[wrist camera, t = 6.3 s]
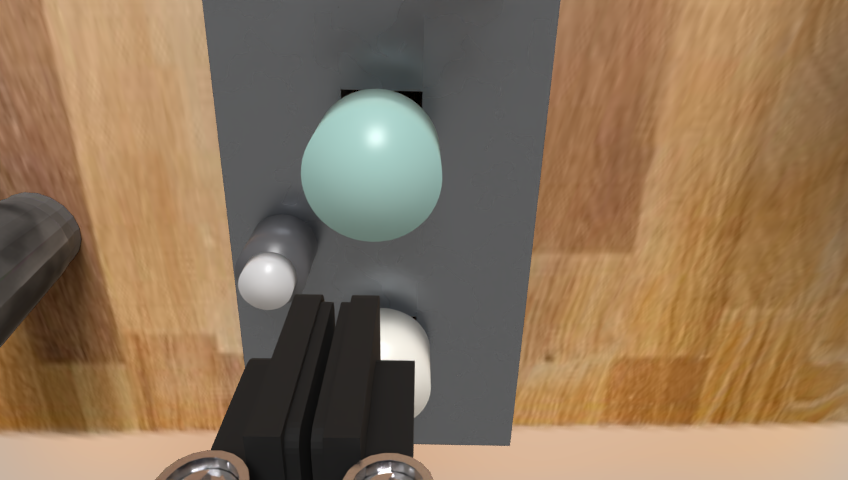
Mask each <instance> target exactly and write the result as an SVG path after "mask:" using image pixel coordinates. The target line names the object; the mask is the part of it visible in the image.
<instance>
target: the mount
mask: <svg viewBox="0 0 848 480" xmlns="http://www.w3.org/2000/svg"><path fill="white" fill-rule="evenodd" d="M202 3H203V11H204V20H205V28H206V37H207V45H208V54H209V63H210V71H211V80H212V88H213V97H214V105H215V114H216V123H217V131H218V140H219V148H220V157H221V165H222V174H223V183H224V191H225V200H226V208H227V217H228V225H229V234H230V243H231V251H232V260H233V268H234V277H235V265H236V262H237V259H238V257H239V256H240V254H241V252H242V251H243V249H244V247H245V245H246V244H247V242H248V240H249V238H250V237H251V235H252V233H253V232H254V230H255V228H256V227H257V225H258V224H259V223H260V222H261V221H262V220H264V219H265V218H267V217H269V216H273V215H278V214H285V215H291V216H294V217H297V218H299V219H301V220H302V221H304V222H305V223H306V224H307V225H308V226H309V227H310V228H311V229H312V231H313V232H314V234H315V237H316V240H317V252H316V255H315V258H314V261H313V264H312V267H311V270H310V273H309V276H308V279H307V282H306V285H305V288H304V290H303V292H302V293H301V294H321V295H323V296H324V299H325V302H333V303H334V309H335V326H336V322H337V318H338V313H339V309H340V305H341V302H351V297H352V295H379V297H380V308H389V309H394V310H397V311H401V312H403V313H405V314H407V315H409V316H412V317H416V321H417V322H418V323H419V324H420V325H421V326H422V328H423V329H424V330H425V332H426V334H427V337H428V339H429V344H430V378H431V391H430V397H429V400H428V402H427V404H426V406H425V407H424V409H423V410H422V411H421V412H420V414H419V415H417V416H416V417H415V418H414V444H441V445H442V444H443V445H444V444H445V445H497V446H498V445H499V446H509V445H510V439H511V431H512V422H513V414H514V405H515V396H516V387H517V378H518V369H519V361H520V352H521V343H522V334H523V325H524V317H525V308H526V299H527V290H528V281H529V272H530V264H531V255H532V246H533V237H534V228H535V220H536V211H537V202H538V193H539V184H540V175H541V167H542V158H543V149H544V140H545V131H546V123H547V114H548V105H549V96H550V87H551V78H552V70H553V61H554V52H555V43H556V34H557V26H558V17H559V8H560V0H202ZM365 89H386V90H390V91H422V101H421V108H422V109H423V110H424V111H425V112H426V113H427V115H428V116H429V118H430V119H431V121H432V122H433V124H434V127H435V129H436V132H437V135H438V139H439V145H440V155H441V166H442V186H441V192H440V195H439V198H438V201H437V203H436V206H435V207H434V209H433V211H432V212H431V214H430V215H429V216H428V218H427V219H426V220H425V221H424V222H423V223H422V224H421V225H420V226H418V227H417V228H416V229H414V230H413V231H411V232H409V233H408V234H406V235H404V236H401V237H399V238H396V239H392V240H388V241H381V242H368V241H360V240H355V239H352V238H349V237H346V236H344V235H342V234H340V233H338V232H336V231H334V230H333V229H331V228H330V227H329V226H327V225H326V224H325V223H324V222H323V221H322V220H321V219H320V218H319V217H318V216H317V215H316V214H315V212H314V211H313V210H312V208H311V206H310V205H309V203H308V201H307V199H306V196H305V194H304V190H303V187H302V180H301V165H302V159H303V155H304V152H305V149H306V147H307V145H308V143H309V141H310V139H311V137H312V136H313V134H314V132H315V130H316V129H317V127H318V125H319V123H320V121H321V120H322V118H323V117H324V115H325V113H326V112H327V111H328V110H329V109H330V107H331V106H332V105H334V104H335V103H336V102H337V101H338V100H340V99H342V98H343V97H345V96H347V95H349V94H351V93H353V90H365ZM235 285H236V294H237V303H238V311H239V320H240V328H241V337H242V345H243V354H244V363H245V367H246V365H247V363H248V361H249V360H250V359H251V358H272V355H273V352H274V350H275V347H276V344H277V341H278V339H279V336H280V333H281V330H282V328H283V325H284V322H285V320H286V317H287V314H288V311H289V309H290V306H291V303H292V302H289V303H287V304H285V305H284V306H282V307H280V308H278V309H274V310H263V309H259V308H256V307H254V306H252V305H250V304H249V303H247V302H246V301H245V300H244V298H243V297H242V296H241V294H240V291H239V288H238V283H237V281H236V278H235Z"/></svg>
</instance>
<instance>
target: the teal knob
mask: <svg viewBox="0 0 848 480" xmlns="http://www.w3.org/2000/svg"><path fill="white" fill-rule="evenodd" d="M301 180H302V187H303V190H304V194H305V196H306V199H307V201H308V203H309V205H310V206H311V208H312V210H313V211H314V212H315V214H316V215H317V216H318V217H319V218H320V219H321V220H322V221H323V222H324V223H325V224H326V225H327V226H329V227H330V228H331V229H333V230H334V231H336V232H338V233H340V234H342V235H344V236H346V237H349V238H352V239H355V240H360V241H368V242H381V241H388V240H392V239H396V238H399V237H401V236H404V235H406V234H408V233H409V232H411V231H413V230H414V229H416V228H417V227H418V226H420V225H421V224H422V223H423V222H424V221H425V220H426V219H427V218H428V216H429V215H430V214H431V212H432V211H433V209H434V207H435V206H436V203H437V201H438V198H439V195H440V192H441V186H442V166H441V155H440V145H439V139H438V135H437V132H436V129H435V127H434V124H433V122H432V121H431V119H430V118H429V116H428V115H427V113H426V112H425V111H424V110H423V109H422V108H421V107H420V106H419V105H418V104H417V103H416V102H414V101H413V100H411V99H410V98H408V97H406V96H404V95H402V94H400V93H397V92H394V91H390V90H386V89H365V90H360V91H357V92H354V93H351V94H349V95H347V96H345V97H343V98H342V99H340V100H338V101H337V102H336V103H335V104H334V105H332V106H331V107H330V109H329V110H328V111H327V112H326V113H325V115H324V117H323V118H322V120H321V121H320V123H319V125H318V127H317V129H316V130H315V132H314V134H313V136H312V137H311V139H310V141H309V143H308V145H307V147H306V149H305V152H304V155H303V159H302V165H301Z"/></svg>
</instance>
